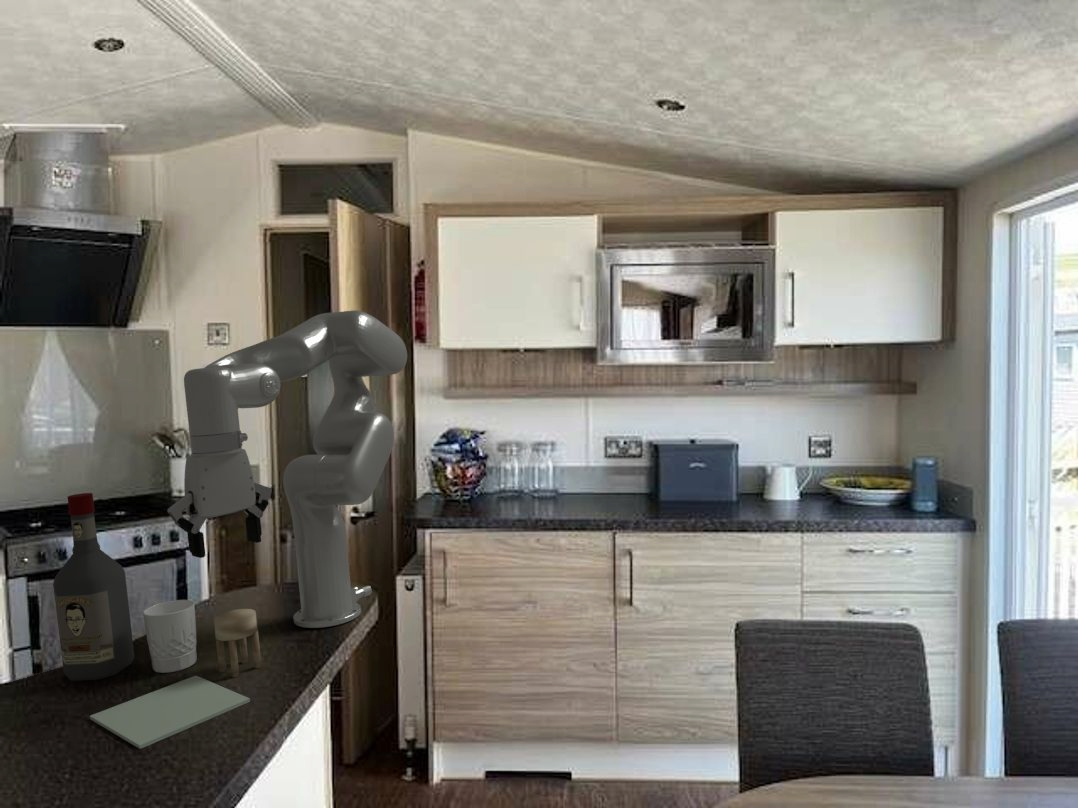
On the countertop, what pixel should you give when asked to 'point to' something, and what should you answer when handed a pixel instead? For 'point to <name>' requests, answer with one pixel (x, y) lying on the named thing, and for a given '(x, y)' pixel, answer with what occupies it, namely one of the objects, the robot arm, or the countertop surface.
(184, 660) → the white cup
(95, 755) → the countertop surface
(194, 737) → the countertop surface
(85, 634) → the liquor
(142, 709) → the sage mat
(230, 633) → the round tan stool
